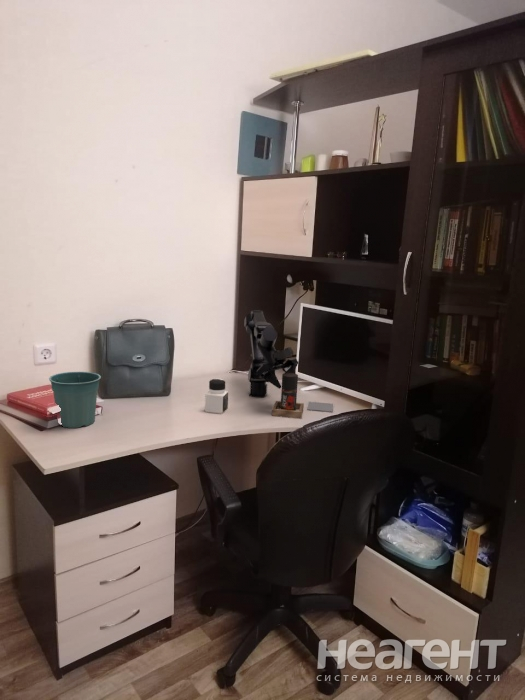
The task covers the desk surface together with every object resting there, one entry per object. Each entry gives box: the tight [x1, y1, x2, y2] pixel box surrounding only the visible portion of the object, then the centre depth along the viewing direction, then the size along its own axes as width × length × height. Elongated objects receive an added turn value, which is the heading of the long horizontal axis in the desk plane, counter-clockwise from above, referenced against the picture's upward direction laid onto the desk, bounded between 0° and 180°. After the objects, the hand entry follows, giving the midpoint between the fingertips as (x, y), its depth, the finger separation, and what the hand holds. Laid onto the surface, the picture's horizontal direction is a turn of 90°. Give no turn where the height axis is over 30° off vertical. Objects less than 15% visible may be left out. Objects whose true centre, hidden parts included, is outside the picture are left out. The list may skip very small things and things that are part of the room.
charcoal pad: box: [306, 401, 334, 413], centre depth 199 cm, size 10×10×1 cm
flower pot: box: [48, 371, 102, 429], centre depth 170 cm, size 16×16×16 cm
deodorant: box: [280, 372, 299, 411], centre depth 190 cm, size 6×6×15 cm
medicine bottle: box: [204, 378, 229, 415], centre depth 189 cm, size 7×7×12 cm
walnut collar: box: [271, 400, 304, 419], centre depth 191 cm, size 11×11×2 cm
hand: (288, 386), depth 189 cm, fingers open, 9 cm apart
